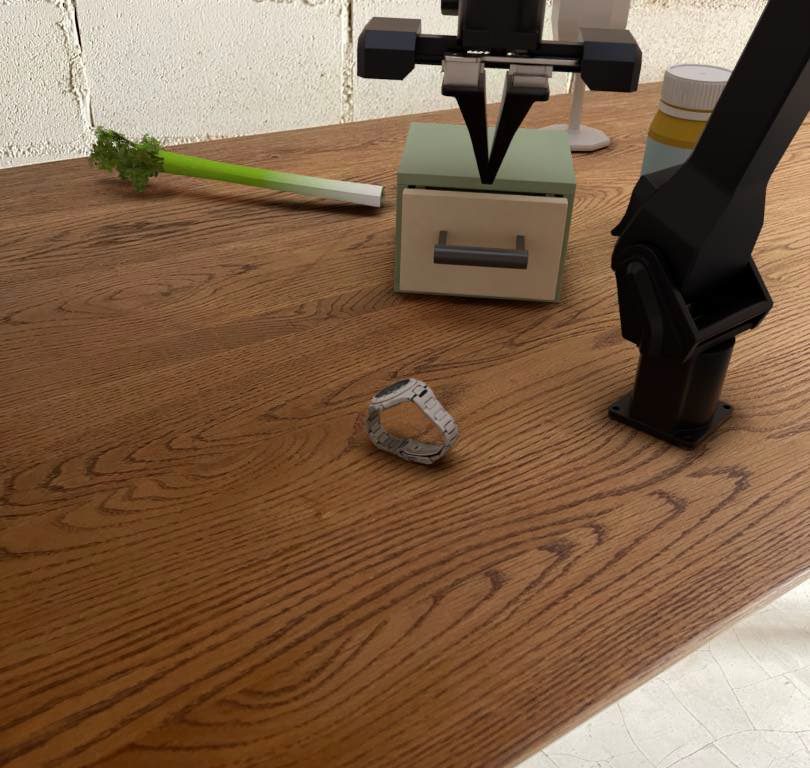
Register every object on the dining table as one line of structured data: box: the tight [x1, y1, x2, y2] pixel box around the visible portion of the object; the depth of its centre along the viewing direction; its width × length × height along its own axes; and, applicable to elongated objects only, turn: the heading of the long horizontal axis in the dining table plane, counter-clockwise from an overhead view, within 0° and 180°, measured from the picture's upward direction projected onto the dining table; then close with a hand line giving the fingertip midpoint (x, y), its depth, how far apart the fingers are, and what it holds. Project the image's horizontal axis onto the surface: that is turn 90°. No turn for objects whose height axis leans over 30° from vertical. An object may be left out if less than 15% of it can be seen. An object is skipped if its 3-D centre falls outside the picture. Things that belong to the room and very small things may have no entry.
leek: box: [84, 125, 386, 208], centre depth 92 cm, size 6×7×30 cm
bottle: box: [639, 63, 733, 178], centre depth 82 cm, size 7×7×15 cm
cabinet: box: [393, 121, 577, 304], centre depth 79 cm, size 14×14×10 cm
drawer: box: [400, 186, 568, 300], centre depth 76 cm, size 17×13×8 cm
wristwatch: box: [364, 377, 459, 465], centre depth 58 cm, size 4×6×5 cm, turn 59°
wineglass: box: [538, 0, 632, 152], centre depth 105 cm, size 9×9×21 cm
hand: (487, 182), depth 68 cm, fingers closed
